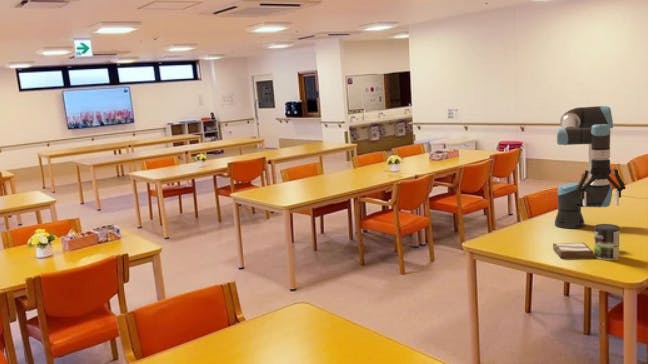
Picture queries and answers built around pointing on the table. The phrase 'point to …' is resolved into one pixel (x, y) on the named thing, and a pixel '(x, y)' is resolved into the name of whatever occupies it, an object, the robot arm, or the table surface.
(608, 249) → the coffee can
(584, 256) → the picture frame
